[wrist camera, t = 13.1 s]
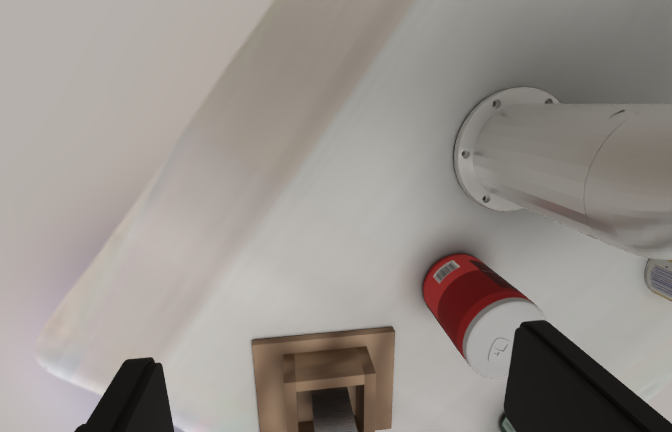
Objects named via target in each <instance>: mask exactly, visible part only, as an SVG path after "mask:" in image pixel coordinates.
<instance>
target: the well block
mask: <svg viewBox="0 0 672 432" xmlns="http://www.w3.org/2000/svg"><path fill="white" fill-rule="evenodd" d="M394 346H395V331H394V329H393V327H385V328H374V329H363V330H353V331H342V332H331V333H320V334H310V335H299V336H288V337H277V338H267V339H256V340H253V342H252V349H253V360H254V371H255V382H256V392H257V403H258V414H259V424H260V432H314V430H313V419H312V409H311V393H310V390H319V389H328V388H337V387H346V386H347V388H348V392H349V397H350V401H351V406H352V410H353V414H354V419H355V423H356V427H357V432H375V430H382V429H390V428H391V422H392V397H393V371H394Z"/></svg>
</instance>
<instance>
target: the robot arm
mask: <svg viewBox="0 0 672 432" xmlns="http://www.w3.org/2000/svg"><path fill="white" fill-rule="evenodd" d="M493 102H494V105H493ZM462 152H464V153H463V155H461V154H462ZM454 168H455V172H456V176H457V179H458V181H459V183H460V185H461V187H462V189H463V190H464V191H465V193H466V194H467V195H468V196H469V197H470V198H471V199H473V200H474V201H475V202H476V203H478V204H480V205H482V206H484V207H486V208H489V209H492V210H496V211H503V212H504V211H516V210H520V209H524V208H526V209H528V210H531V211H533V212H535V213H538V214H540V215H542V216H545V217H547V218H549V219H552V220H554V221H556V222H558V223H561V224H563V225H565V226H568V227H570V228H572V229H575V230H577V231H579V232H582V233H584V234H586V235H589V236H591V237H593V238H596V239H598V240H600V241H603V242H605V243H607V244H610V245H612V246H615V247H617V248H619V249H622V250H624V251H626V252H629V253H632V254H635V255H638V256H642V257H646V258H651V259H661V260H672V104H561V103H560V102H559V101H558V100H557V99H556V98H555V97H554V96H552V95H551V94H549V93H547V92H546V91H543V90H540V89H537V88H530V87H516V88H510V89H506V90H502V91H500V92H497V93H495V94H493V95H491V96H489V97H488V98H486V99H485V100H483V101H482V102H481V103H480V104H479V105H478V106H477V107H476V108H475V109H474V110H473V111H472V112H471V113H470V114H469V116H468V117H467V119H466V120H465V121H464V123H463V125H462V127H461V129H460V131H459V134H458V137H457V140H456V144H455V151H454ZM483 197H484V198H483ZM504 411H505V415H506V417H507V419H508V421H509V422H510V424H511V425H512V426H513V428H514V429H515V431H516V432H672V424H671V423H670V422H669V421H668V420H666V419H665V418H664V417H663V416H662V415H660V414H659V413H658V412H657V411H655V410H654V409H653V408H652V407H651V406H649V405H648V404H647V403H646V402H645V401H643V400H642V399H641V398H640V397H638V396H637V395H636V394H635V393H634V392H632V391H631V390H630V389H629V388H628V387H626V386H625V385H624V384H623V383H621V382H620V381H619V380H618V379H617V378H615V377H614V376H613V375H612V374H611V373H609V372H608V371H607V370H606V369H604V368H603V367H602V366H601V365H600V364H598V363H597V362H596V361H595V360H594V359H592V358H591V357H590V356H589V355H587V354H586V353H585V352H584V351H583V350H581V349H580V348H579V347H578V346H577V345H575V344H574V343H573V342H572V341H570V340H569V339H568V338H567V337H566V336H564V335H563V334H562V333H561V332H560V331H558V330H557V329H556V328H555V327H554V326H552V325H551V324H550V323H549V322H547V321H545V320H535V321H525V322H522V323H521V324H520V327H519V328H517V329H516V330H515V334H514V341H513V347H512V354H511V361H510V367H509V374H508V381H507V387H506V394H505V401H504ZM74 432H174V428H173V422H172V417H171V411H170V406H169V400H168V395H167V389H166V383H165V378H164V372H163V367H162V364H161V363H155V362H154V359H153V358H151V357H149V358H138V359H128V360H126V361H125V362H124V363H123V364H122V366H121V367H120V369H119V371H118V372H117V374H116V376H115V377H114V379H113V380H112V382H111V384H110V385H109V387H108V389H107V390H106V392H105V393H104V395H103V397H102V398H101V400H100V402H99V403H98V405H97V407H96V408H95V410H94V411H93V413H92V415H91V416H90V418H89V419H88V421H87V423H86V424H82V425H81V426H79V427H78V428H77V429H76V430H75V431H74Z"/></svg>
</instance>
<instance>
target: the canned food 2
mask: <svg viewBox="0 0 672 432" xmlns="http://www.w3.org/2000/svg"><path fill="white" fill-rule="evenodd" d="M645 281H646V284H647V286H648V287H649V289H650V290H652V291H653V292H654V293H656V294H658V295H660V296H662V297H664V298H666V299H668V300H670V301H672V260H661V259H651V258H650V259H649V261H648V263H647V266H646V269H645Z"/></svg>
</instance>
